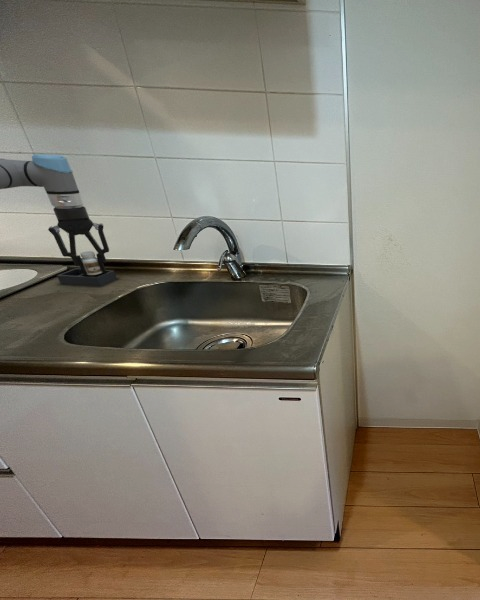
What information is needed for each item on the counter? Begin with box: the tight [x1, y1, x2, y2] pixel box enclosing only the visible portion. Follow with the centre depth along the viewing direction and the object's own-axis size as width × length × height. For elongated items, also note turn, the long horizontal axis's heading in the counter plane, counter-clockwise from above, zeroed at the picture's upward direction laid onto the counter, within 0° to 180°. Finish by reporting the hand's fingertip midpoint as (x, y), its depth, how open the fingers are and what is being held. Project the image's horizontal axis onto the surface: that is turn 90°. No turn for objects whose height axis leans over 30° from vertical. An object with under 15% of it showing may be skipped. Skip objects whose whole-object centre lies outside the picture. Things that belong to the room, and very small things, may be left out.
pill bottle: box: [80, 250, 102, 275], centre depth 109 cm, size 4×4×8 cm
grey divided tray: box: [56, 267, 118, 288], centre depth 112 cm, size 7×14×4 cm, turn 90°
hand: (94, 272), depth 111 cm, fingers closed on pill bottle, 4 cm apart
